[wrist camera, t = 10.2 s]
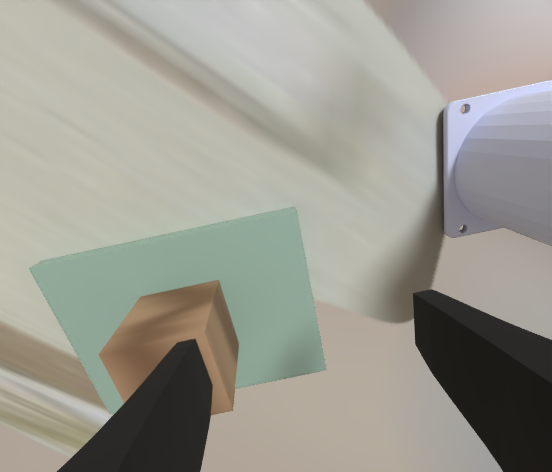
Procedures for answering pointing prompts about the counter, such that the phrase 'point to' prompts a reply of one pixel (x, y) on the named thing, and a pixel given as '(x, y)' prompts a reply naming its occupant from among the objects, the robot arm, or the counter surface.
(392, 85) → the counter surface
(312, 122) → the counter surface
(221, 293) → the walnut block
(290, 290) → the sage board
